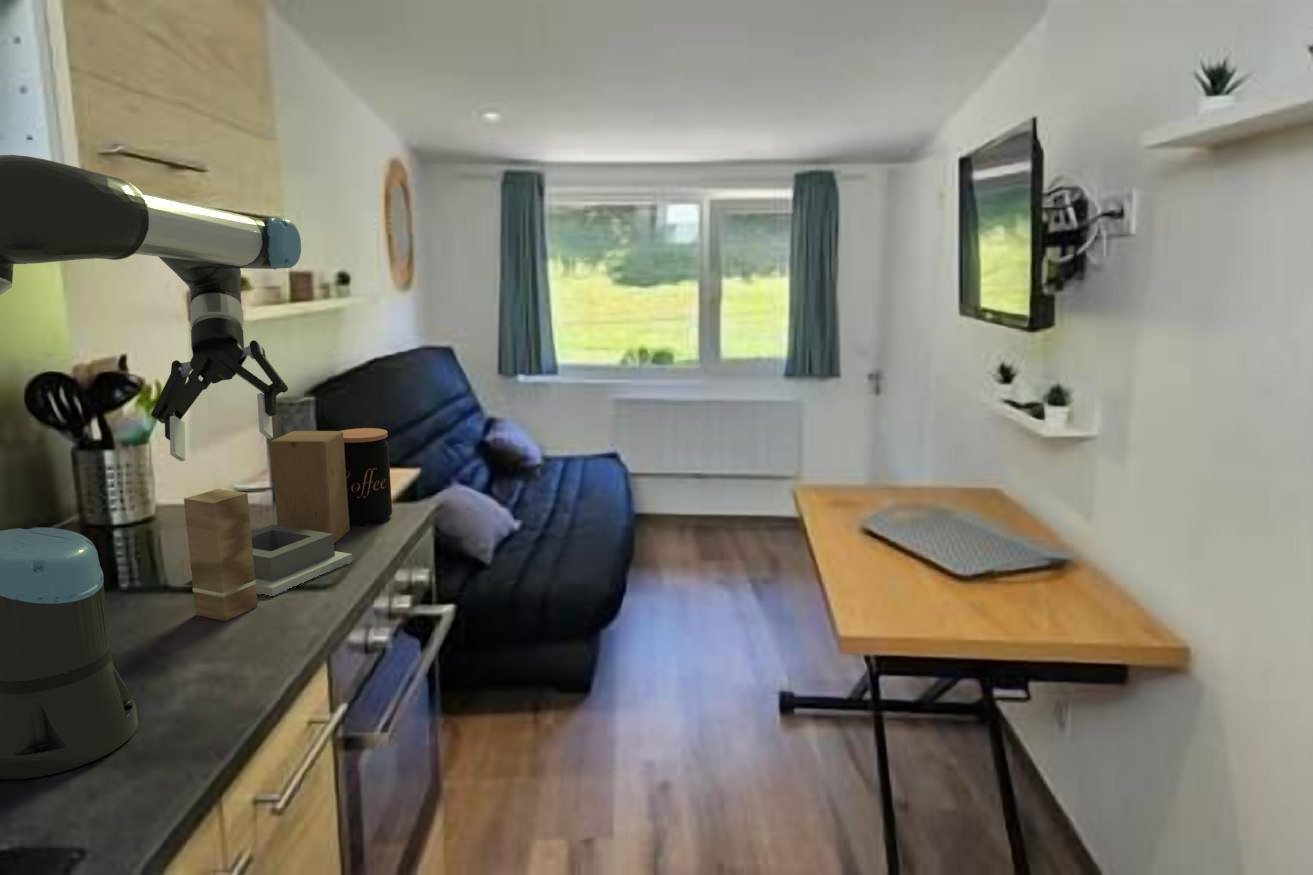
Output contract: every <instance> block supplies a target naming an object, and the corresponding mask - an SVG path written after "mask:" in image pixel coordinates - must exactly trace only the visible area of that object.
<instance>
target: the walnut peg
mask: <svg viewBox="0 0 1313 875" xmlns="http://www.w3.org/2000/svg"><path fill="white" fill-rule="evenodd" d="M183 504H184V514H185V515H184V516H185V526H186V533H187V534H186V535H187V542H188V551H189V562H190V572H191V573H192V581H191V582H192V593H193V601H194V609H195V610H194V611H195V616H200V617H205V618H210V619H215V620H219V621H223V622H226V621H228V620H230V619H233V618H236V617H238V616H240V615H242V614H245V613H247V612H249V611H251V610H253V608H254V607H256V608H258V598H257V597H258V596H257V595H258V594H256V580H255V572H254V561H253V550H252V539H251V532H252V530H251V519H250V508H249V498H248V492H242V491H235V490H227V489H219V488H217V489H213V490H210V491H207V492H203V493H199V494H196V495H192V496H188V497H185V498H183ZM254 609H255V608H254Z"/></svg>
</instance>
